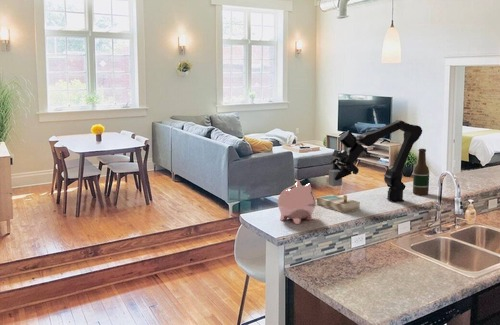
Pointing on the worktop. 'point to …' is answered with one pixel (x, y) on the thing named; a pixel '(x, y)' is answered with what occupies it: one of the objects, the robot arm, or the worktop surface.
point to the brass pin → (345, 198)
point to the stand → (338, 203)
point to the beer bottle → (421, 175)
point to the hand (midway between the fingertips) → (332, 178)
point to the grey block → (332, 177)
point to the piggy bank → (297, 203)
